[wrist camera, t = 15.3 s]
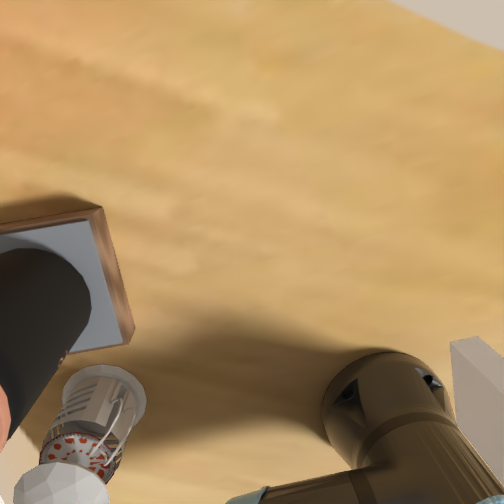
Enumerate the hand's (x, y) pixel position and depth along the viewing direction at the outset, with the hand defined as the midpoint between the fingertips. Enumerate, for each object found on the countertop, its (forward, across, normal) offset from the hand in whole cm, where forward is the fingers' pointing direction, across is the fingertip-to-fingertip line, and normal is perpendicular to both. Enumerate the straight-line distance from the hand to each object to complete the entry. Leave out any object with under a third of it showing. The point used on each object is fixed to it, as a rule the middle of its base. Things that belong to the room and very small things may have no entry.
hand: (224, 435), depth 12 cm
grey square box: (+34, +20, +4) cm, 39 cm away
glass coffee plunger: (+34, +18, +19) cm, 43 cm away
